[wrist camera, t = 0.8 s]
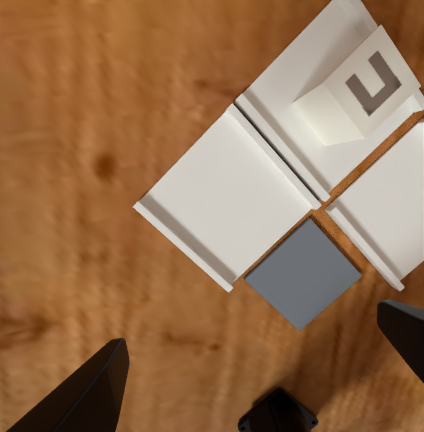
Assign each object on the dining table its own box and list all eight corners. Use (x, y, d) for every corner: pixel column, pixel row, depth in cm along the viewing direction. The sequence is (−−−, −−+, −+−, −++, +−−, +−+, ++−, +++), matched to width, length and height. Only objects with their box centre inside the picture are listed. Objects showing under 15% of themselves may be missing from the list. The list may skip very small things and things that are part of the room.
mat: (359, 274, 22) (362, 275, 21) (297, 328, 23) (299, 331, 22) (308, 217, 20) (310, 218, 20) (243, 277, 21) (244, 279, 21)
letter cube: (367, 105, 18) (422, 85, 14) (325, 145, 19) (366, 138, 14) (334, 60, 18) (382, 23, 13) (291, 103, 18) (323, 82, 13)
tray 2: (416, 107, 19) (428, 104, 18) (318, 200, 20) (325, 201, 19) (339, -8, 17) (348, -19, 16) (233, 102, 18) (236, 99, 17)
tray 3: (481, 207, 21) (495, 209, 20) (390, 286, 22) (400, 291, 21) (421, 118, 19) (433, 115, 18) (323, 209, 20) (330, 211, 19)
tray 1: (315, 203, 20) (321, 205, 19) (227, 286, 21) (228, 292, 20) (230, 106, 18) (232, 103, 17) (136, 204, 19) (132, 206, 18)
